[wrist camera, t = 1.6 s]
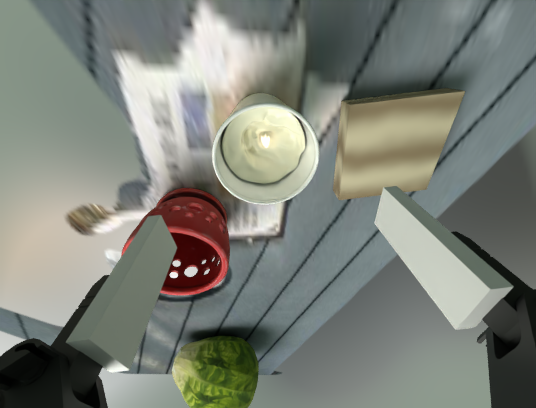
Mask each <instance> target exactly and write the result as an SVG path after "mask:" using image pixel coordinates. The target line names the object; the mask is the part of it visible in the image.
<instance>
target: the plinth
mask: <svg viewBox="0 0 536 408" xmlns="http://www.w3.org/2000/svg"><path fill="white" fill-rule="evenodd" d="M464 93H465V91H462V90H456V89H449V88H443V89H435V90H426V91H418V92H410V93H402V94H394V95H385V96H377V97H369V98H361V99H353V100H345V101H342V102H341V113H340V123H339V134H338V144H337V155H336V165H335V176H334V186H333V191H334V193H335V194H336V196H337V197H338V199H339V200H344V199H352V198H360V197H369V196H377V195H382V191H383V187H391V186H397V187H398V188H400V189H401V190H402V191H403V192H410V191H418V190H426V189H427V186H428V184H429V181H430V179H431V176H432V174H433V171H434V169H435V166H436V164H437V161H438V159H439V156H440V154H441V151H442V149H443V146H444V144H445V141H446V139H447V136H448V134H449V131H450V129H451V126H452V124H453V121H454V119H455V116H456V114H457V111H458V109H459V106H460V103H461V101H462V98H463V96H464Z"/></svg>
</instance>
